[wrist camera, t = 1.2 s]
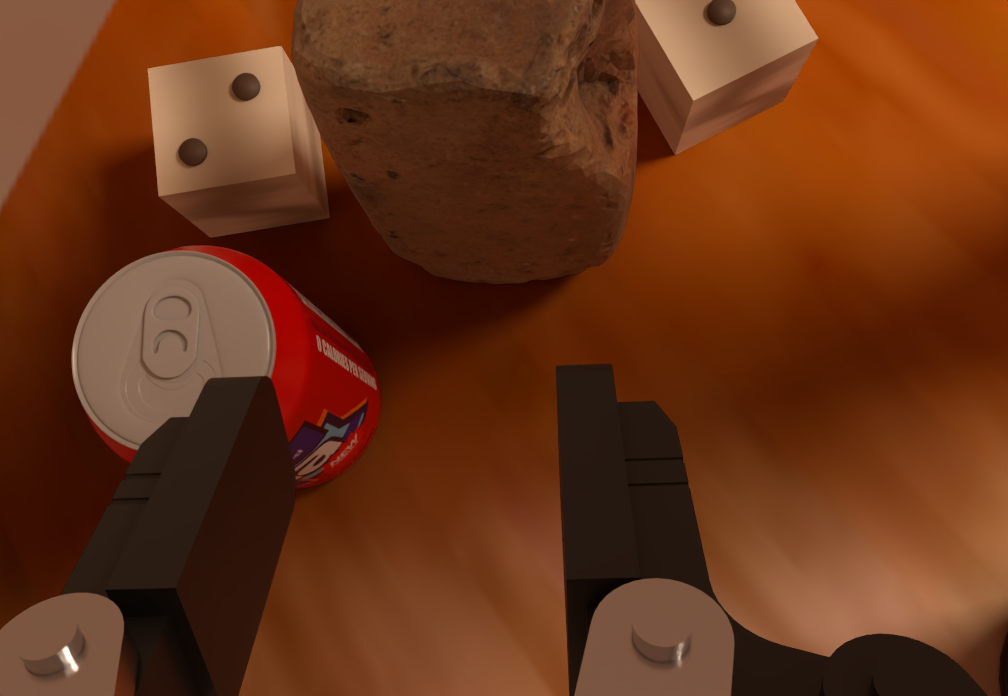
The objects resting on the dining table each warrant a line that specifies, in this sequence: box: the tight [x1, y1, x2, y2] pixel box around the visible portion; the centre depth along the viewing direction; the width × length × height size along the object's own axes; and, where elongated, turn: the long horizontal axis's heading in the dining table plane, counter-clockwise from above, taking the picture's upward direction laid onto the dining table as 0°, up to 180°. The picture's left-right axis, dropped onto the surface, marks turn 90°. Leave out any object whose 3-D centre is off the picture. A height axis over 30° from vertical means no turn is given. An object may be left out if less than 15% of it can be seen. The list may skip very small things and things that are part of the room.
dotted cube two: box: [148, 46, 330, 238], centre depth 42 cm, size 6×6×6 cm
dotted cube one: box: [635, 0, 818, 155], centre depth 42 cm, size 6×6×6 cm
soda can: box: [72, 245, 381, 489], centre depth 35 cm, size 8×8×15 cm
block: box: [291, 0, 638, 284], centre depth 34 cm, size 11×8×20 cm
